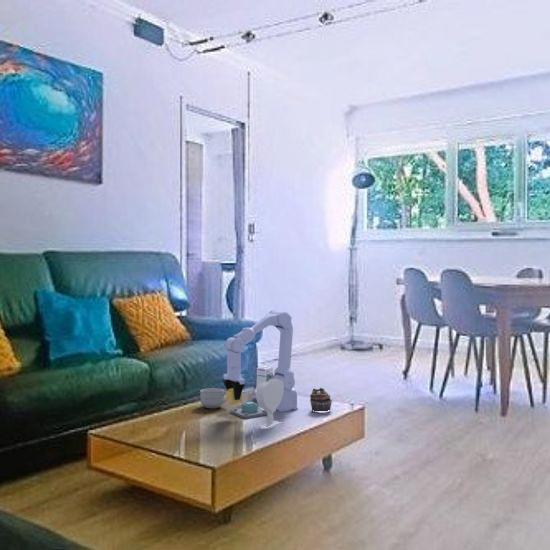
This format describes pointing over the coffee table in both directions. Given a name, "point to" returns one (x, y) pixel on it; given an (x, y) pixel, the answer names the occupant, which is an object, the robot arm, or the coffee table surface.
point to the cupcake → (320, 400)
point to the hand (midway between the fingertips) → (233, 398)
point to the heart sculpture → (270, 397)
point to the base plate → (248, 415)
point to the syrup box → (264, 374)
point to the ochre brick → (232, 396)
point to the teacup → (212, 397)
